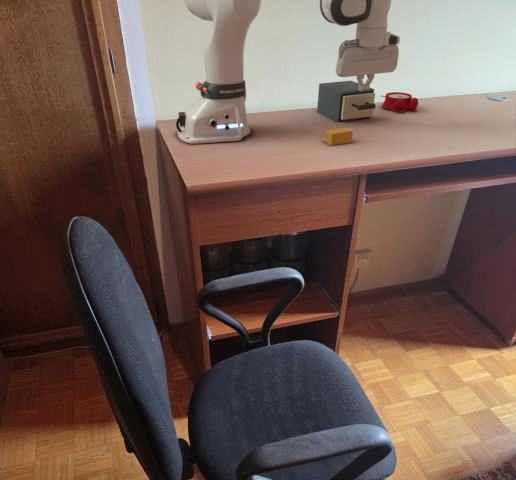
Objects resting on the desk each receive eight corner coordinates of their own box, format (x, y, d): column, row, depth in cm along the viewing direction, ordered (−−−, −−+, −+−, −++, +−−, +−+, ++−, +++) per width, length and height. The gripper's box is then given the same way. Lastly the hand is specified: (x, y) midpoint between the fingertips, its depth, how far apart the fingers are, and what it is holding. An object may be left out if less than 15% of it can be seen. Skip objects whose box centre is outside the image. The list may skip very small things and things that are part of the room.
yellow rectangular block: (330, 145, 130) (332, 133, 128) (325, 142, 133) (326, 130, 131) (351, 142, 132) (353, 130, 130) (345, 139, 135) (347, 127, 133)
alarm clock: (400, 91, 165) (427, 89, 153) (399, 110, 168) (425, 110, 156) (376, 93, 162) (401, 92, 150) (375, 113, 165) (400, 113, 153)
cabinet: (370, 117, 152) (374, 89, 147) (337, 121, 149) (340, 92, 143) (347, 107, 162) (350, 80, 157) (317, 111, 159) (319, 83, 153)
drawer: (380, 119, 147) (384, 96, 142) (350, 123, 144) (353, 100, 139) (350, 106, 160) (353, 85, 155) (322, 110, 156) (324, 88, 152)
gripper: (345, 42, 128) (340, 96, 137) (404, 37, 134) (395, 89, 143) (334, 39, 133) (330, 91, 142) (392, 34, 138) (384, 85, 147)
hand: (363, 90), depth 142 cm, fingers closed
